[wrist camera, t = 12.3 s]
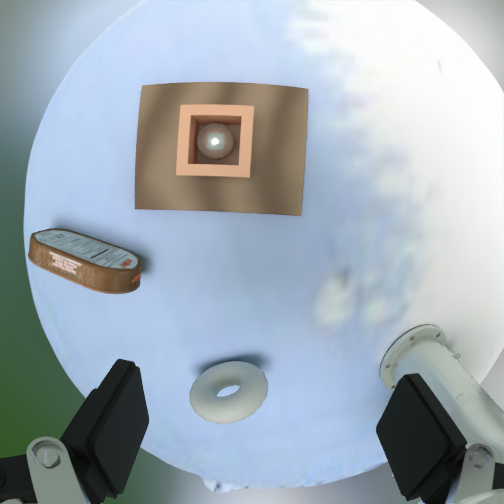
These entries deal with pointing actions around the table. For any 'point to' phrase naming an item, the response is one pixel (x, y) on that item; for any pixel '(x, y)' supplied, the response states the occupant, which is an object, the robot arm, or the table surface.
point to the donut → (231, 405)
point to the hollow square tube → (209, 115)
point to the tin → (85, 261)
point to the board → (222, 187)
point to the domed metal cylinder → (215, 141)
